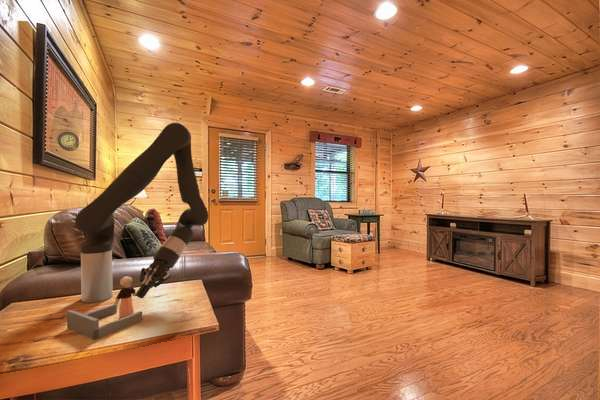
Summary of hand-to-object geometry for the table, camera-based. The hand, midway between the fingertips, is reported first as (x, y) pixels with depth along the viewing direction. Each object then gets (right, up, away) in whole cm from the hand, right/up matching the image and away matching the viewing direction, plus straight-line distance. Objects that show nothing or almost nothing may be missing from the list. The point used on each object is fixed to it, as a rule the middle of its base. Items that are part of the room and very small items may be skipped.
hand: (138, 297), depth 92 cm
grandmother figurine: (-1, -5, -4) cm, 7 cm away
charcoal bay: (-4, -5, -8) cm, 11 cm away
